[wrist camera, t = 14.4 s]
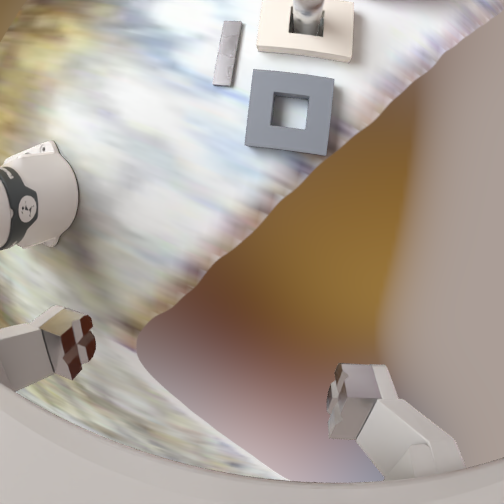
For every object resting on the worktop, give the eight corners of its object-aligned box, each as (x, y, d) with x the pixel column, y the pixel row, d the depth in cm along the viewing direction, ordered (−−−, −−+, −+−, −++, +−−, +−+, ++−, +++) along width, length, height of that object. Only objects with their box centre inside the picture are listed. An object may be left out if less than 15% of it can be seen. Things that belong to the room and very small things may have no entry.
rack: (258, 51, 34) (256, 45, 32) (264, -1, 31) (263, -9, 29) (348, 63, 33) (351, 57, 31) (351, 10, 30) (354, 2, 28)
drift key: (231, 87, 37) (230, 85, 35) (214, 86, 37) (212, 84, 36) (242, 24, 33) (241, 21, 32) (225, 24, 34) (224, 20, 32)
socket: (247, 145, 38) (244, 145, 36) (255, 74, 35) (253, 69, 33) (323, 155, 38) (326, 155, 35) (331, 83, 34) (334, 79, 32)
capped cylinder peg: (292, 36, 33) (291, -19, 19) (294, 17, 32) (293, -42, 18) (317, 40, 33) (328, -14, 18) (319, 20, 32) (329, -38, 17)
